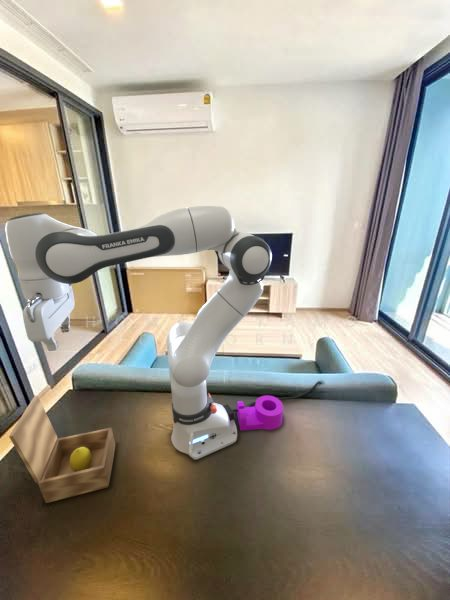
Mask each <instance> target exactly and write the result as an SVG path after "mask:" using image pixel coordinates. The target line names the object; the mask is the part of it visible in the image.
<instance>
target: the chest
mask: <svg viewBox="0 0 450 600" xmlns="http://www.w3.org/2000/svg"><path fill="white" fill-rule="evenodd" d="M79 447H86V448H88V449H89V450H90V452H91V454H92V461H91V464H90V466H89V467H88V468H87V469H86V470H82V471H77V472H75V471H73V470H72V468H71V466H70V457H71V454H72V453H73V451H74V450H76V449H77V448H79ZM115 451H116V442H115V437H114V433H113V428H112V427H108V428H104V429H98V430H94V431H88V432H83V433H79V434H74V435H69V436H64V437H59V438H57V440H56V442H55V445H54V447H53V449H52V452H51V454H50V457H49V459H48V461H47V464H46V466H45V468H44V471H43V473H42V476H41V478H40V480H39V482H37V485H38V488H39V490H40V492H41V495H42V497H43V500H44V503H45V504H48V503H52V502H56V501H60V500H64V499H67V498H72V497H75V496H79V495H83V494H86V493H90V492H91V493H92V492H94V491H99V490H103V489H106V488H109V487H110V481H111V475H112V469H113V463H114V457H115Z"/></svg>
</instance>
